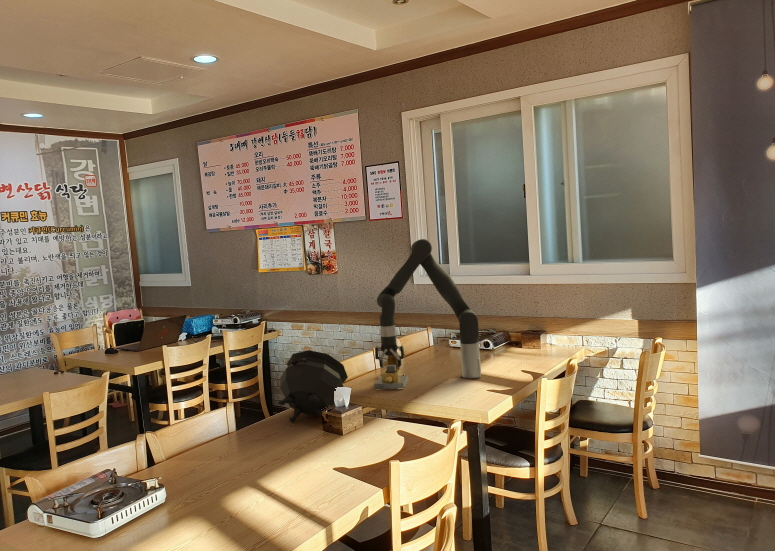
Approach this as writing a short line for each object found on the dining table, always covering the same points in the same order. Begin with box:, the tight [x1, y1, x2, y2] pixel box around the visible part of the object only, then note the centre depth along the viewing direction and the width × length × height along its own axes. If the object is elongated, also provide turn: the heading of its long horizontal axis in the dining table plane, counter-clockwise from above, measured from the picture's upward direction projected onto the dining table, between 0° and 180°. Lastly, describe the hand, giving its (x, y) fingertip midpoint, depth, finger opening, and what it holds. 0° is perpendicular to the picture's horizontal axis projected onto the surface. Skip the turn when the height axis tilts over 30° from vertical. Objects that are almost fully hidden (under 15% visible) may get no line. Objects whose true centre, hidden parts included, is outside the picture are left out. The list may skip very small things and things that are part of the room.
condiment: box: [387, 355, 406, 375], centre depth 305 cm, size 7×8×12 cm
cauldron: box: [277, 349, 349, 423], centre depth 245 cm, size 28×28×24 cm
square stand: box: [374, 369, 409, 390], centre depth 286 cm, size 14×14×7 cm
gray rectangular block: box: [386, 364, 396, 373], centre depth 286 cm, size 4×3×10 cm
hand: (390, 367), depth 286 cm, fingers open, 8 cm apart
